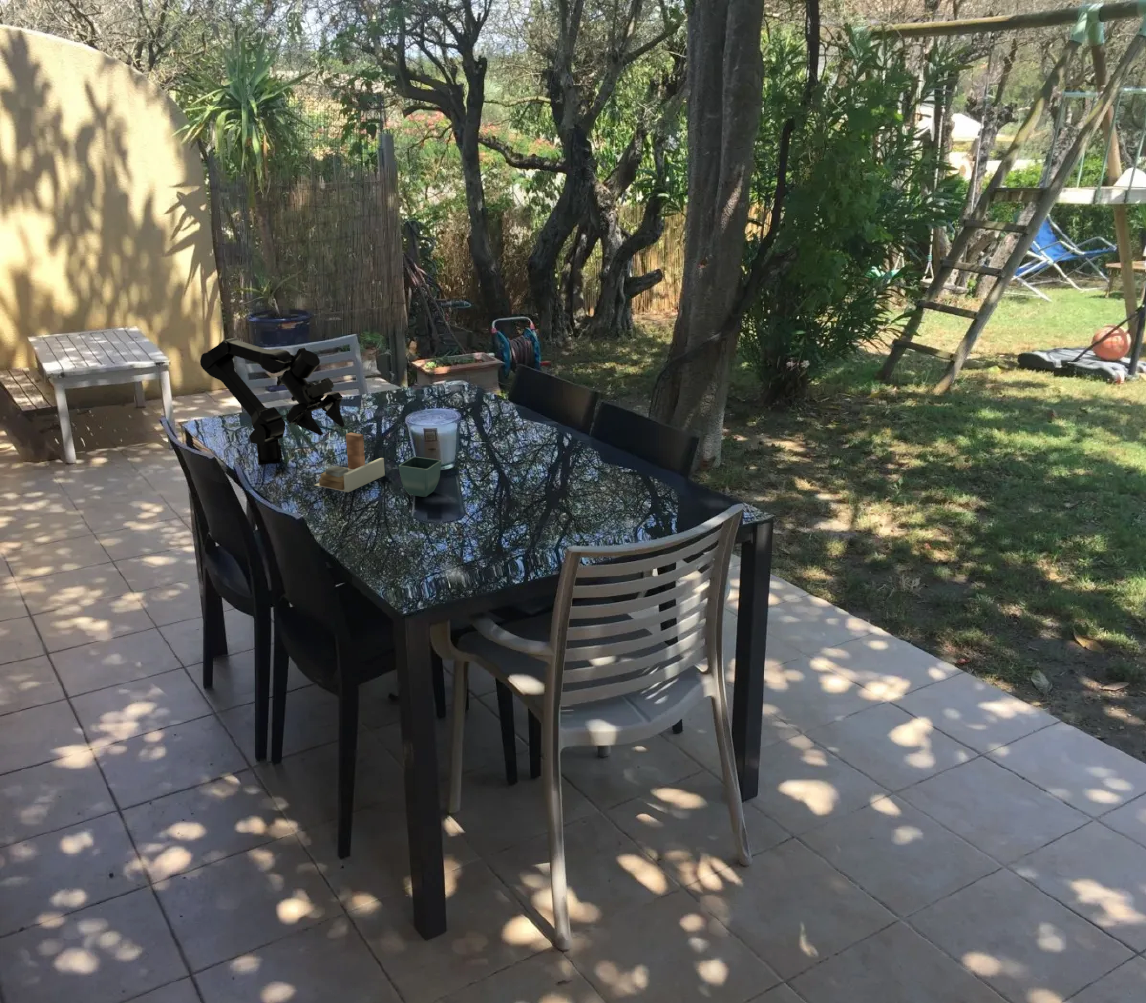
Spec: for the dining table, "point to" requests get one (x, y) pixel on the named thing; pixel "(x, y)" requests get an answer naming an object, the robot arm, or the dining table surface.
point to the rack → (362, 475)
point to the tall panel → (355, 450)
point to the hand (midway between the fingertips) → (332, 430)
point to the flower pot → (420, 475)
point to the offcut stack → (333, 477)
